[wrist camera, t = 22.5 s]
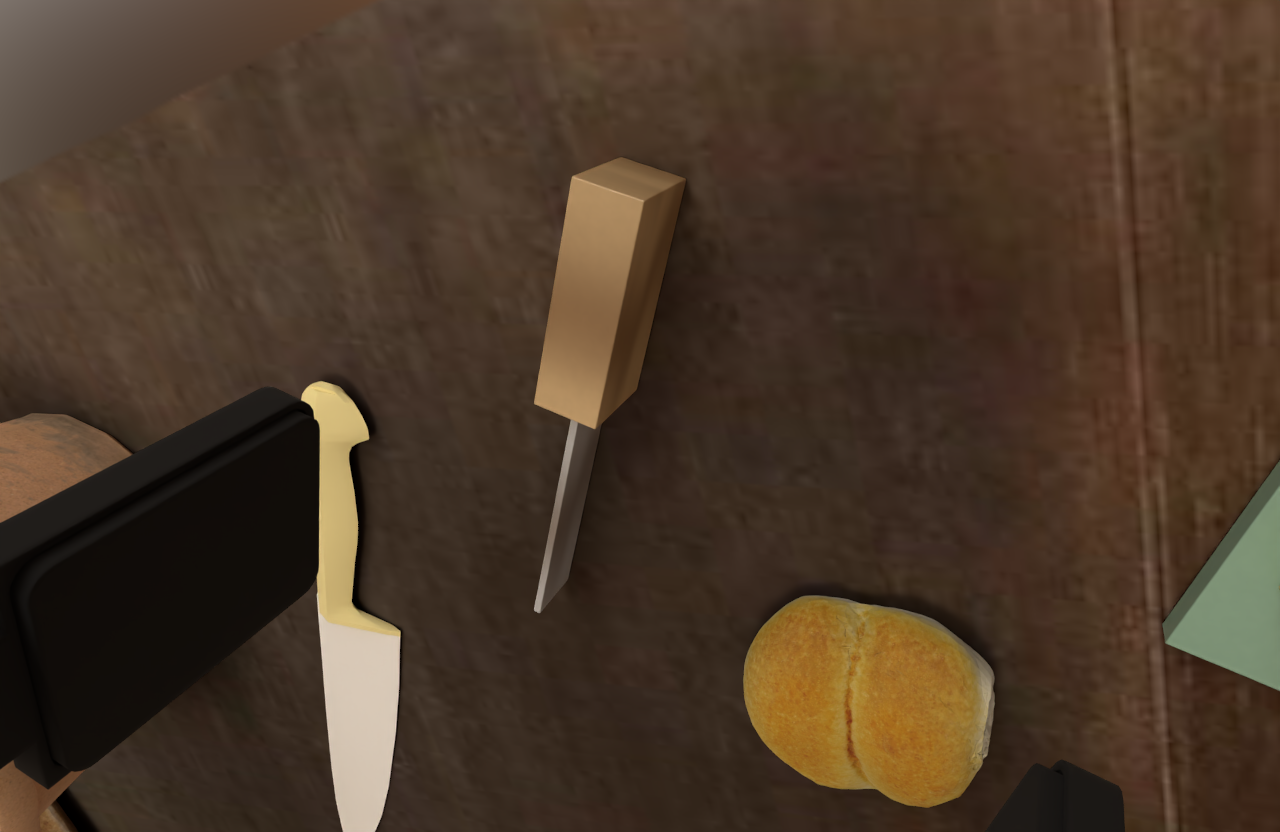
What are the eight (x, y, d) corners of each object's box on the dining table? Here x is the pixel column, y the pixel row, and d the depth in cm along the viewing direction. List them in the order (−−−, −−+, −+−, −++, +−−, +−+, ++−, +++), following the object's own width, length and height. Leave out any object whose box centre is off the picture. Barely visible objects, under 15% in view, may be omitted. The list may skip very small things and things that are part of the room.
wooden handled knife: (620, 156, 29) (571, 175, 26) (687, 178, 28) (644, 200, 25) (540, 566, 38) (498, 614, 35) (590, 589, 37) (550, 640, 34)
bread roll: (749, 572, 34) (715, 636, 30) (1001, 609, 30) (994, 686, 27) (760, 736, 37) (730, 810, 34) (988, 788, 33) (980, 876, 30)
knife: (404, 862, 55) (333, 836, 55) (410, 396, 37) (308, 368, 38) (393, 881, 53) (322, 854, 54) (395, 411, 36) (290, 381, 37)
